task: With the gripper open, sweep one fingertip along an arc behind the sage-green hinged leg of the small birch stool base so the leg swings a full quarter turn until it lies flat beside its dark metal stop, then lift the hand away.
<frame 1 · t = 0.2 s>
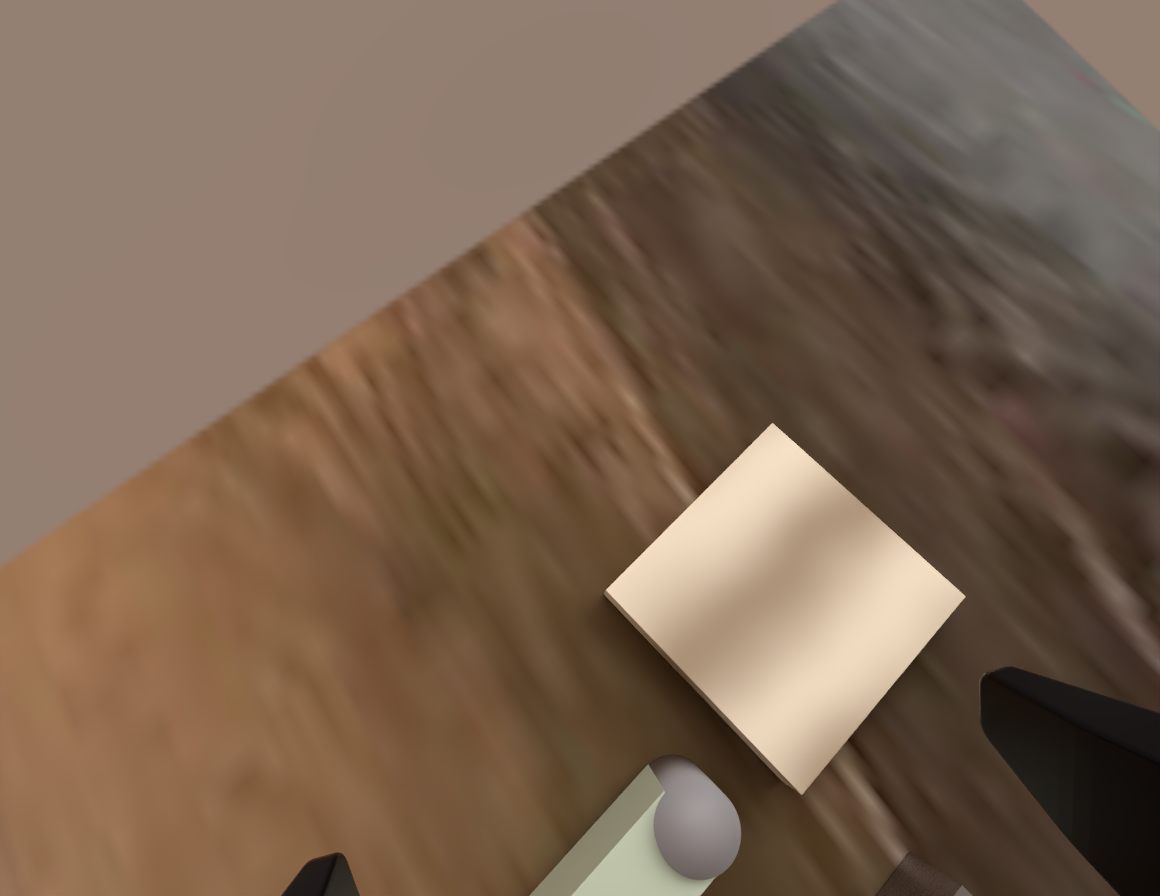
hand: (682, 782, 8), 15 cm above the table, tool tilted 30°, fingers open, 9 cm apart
stool seat: (768, 596, 24), on the table
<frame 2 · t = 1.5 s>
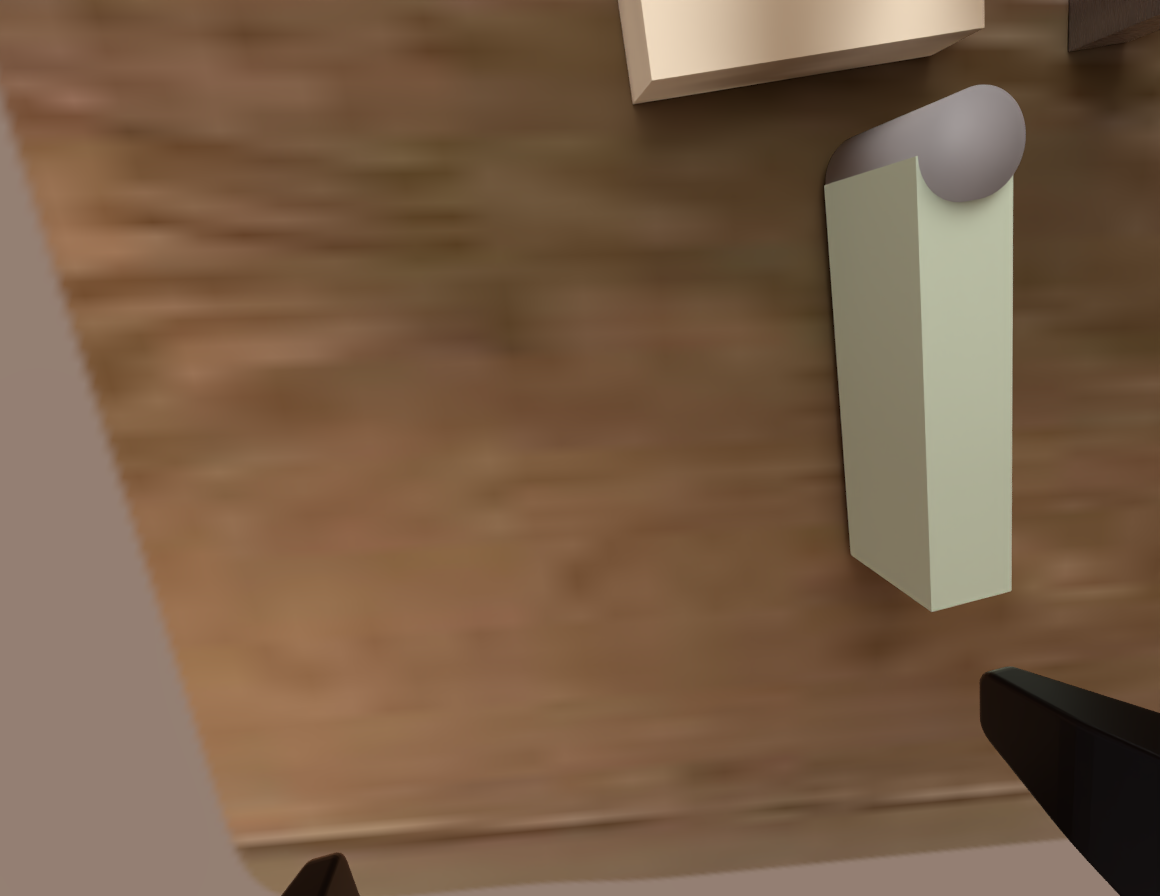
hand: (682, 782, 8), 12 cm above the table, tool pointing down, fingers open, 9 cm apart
stool leg: (920, 366, 18), point 3 cm above the table, hinge at 0.0°
leg stop: (1099, 9, 18), on the table
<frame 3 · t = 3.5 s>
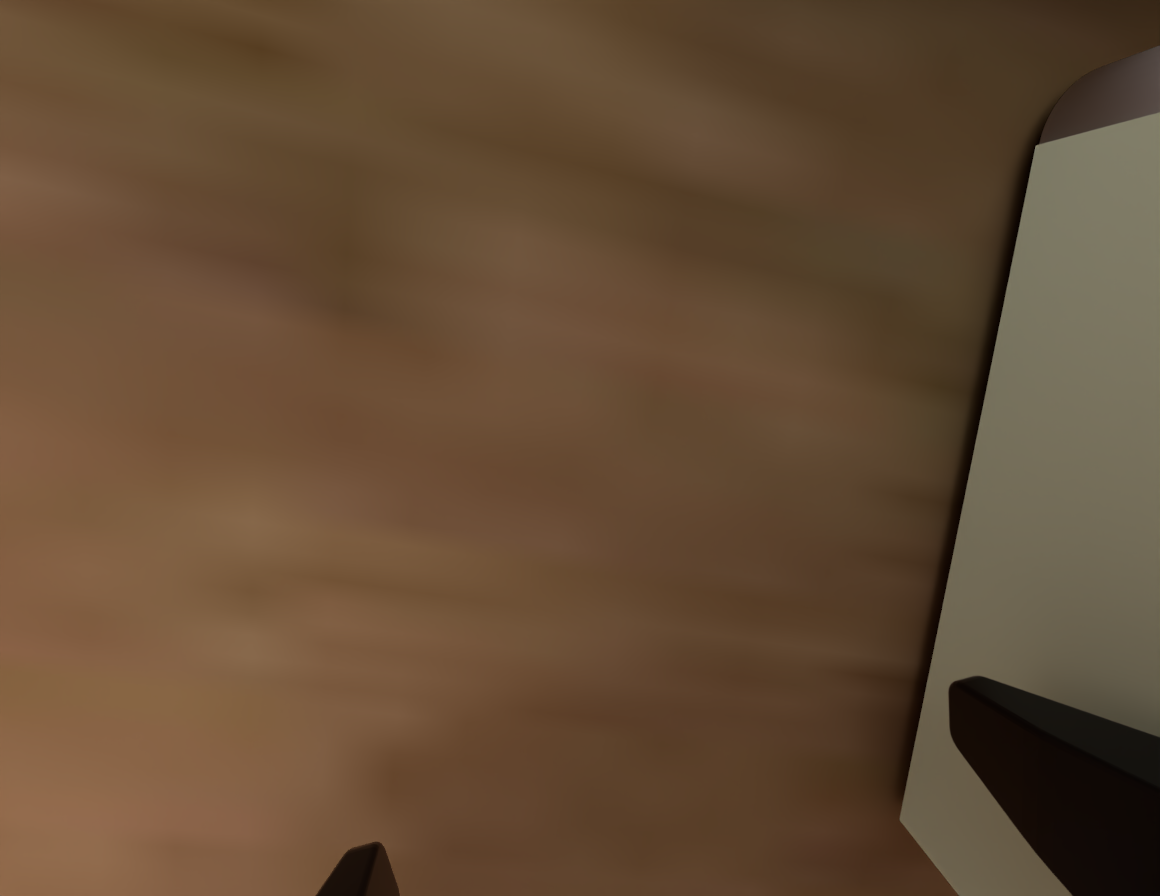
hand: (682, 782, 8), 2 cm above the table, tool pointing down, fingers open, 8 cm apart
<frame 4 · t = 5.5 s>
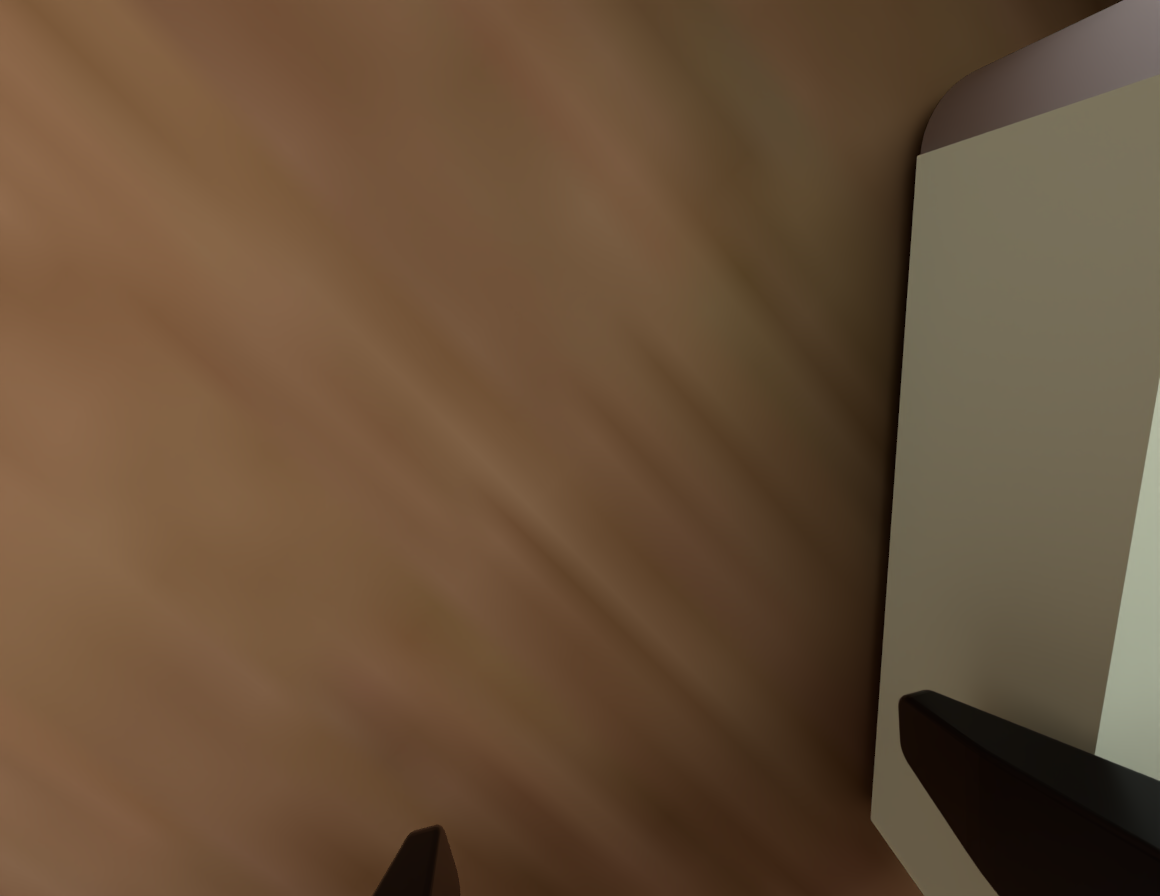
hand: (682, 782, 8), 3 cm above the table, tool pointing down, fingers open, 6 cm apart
stool leg: (1075, 542, 9), point 2 cm above the table, hinge at 41.6°, touching gripper
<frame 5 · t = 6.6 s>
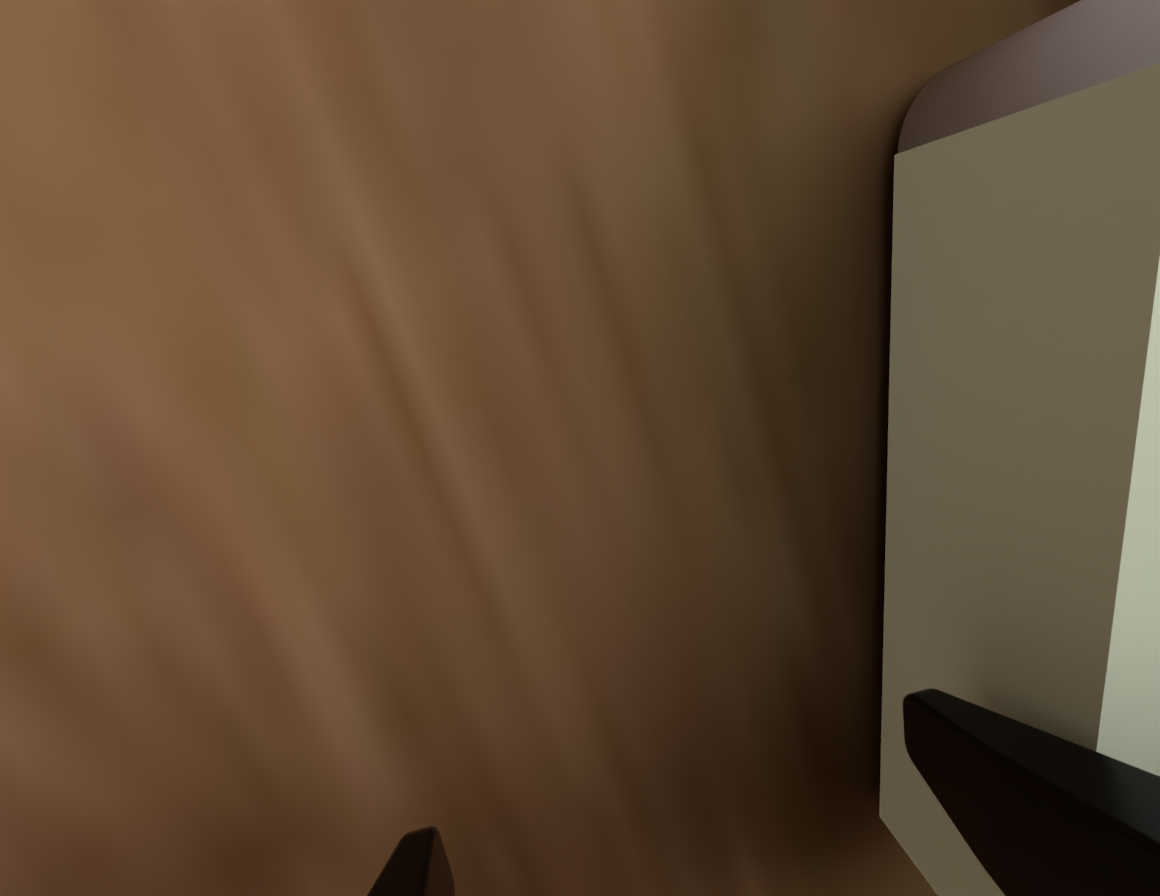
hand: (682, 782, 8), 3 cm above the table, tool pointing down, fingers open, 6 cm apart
stool leg: (1069, 538, 9), point 2 cm above the table, hinge at 67.9°, touching gripper
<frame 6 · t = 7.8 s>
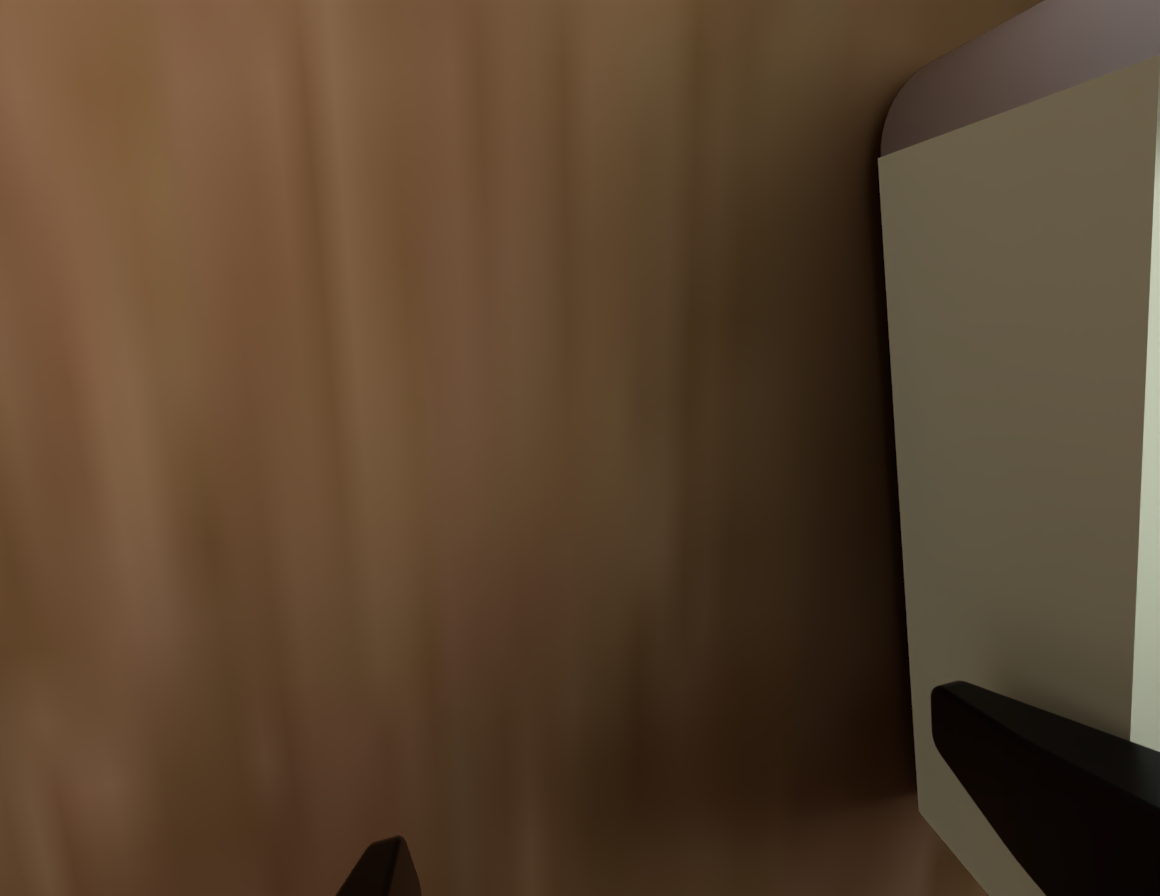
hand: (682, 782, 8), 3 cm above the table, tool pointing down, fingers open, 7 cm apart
stool leg: (1085, 528, 8), point 2 cm above the table, hinge at 90.9°, touching gripper
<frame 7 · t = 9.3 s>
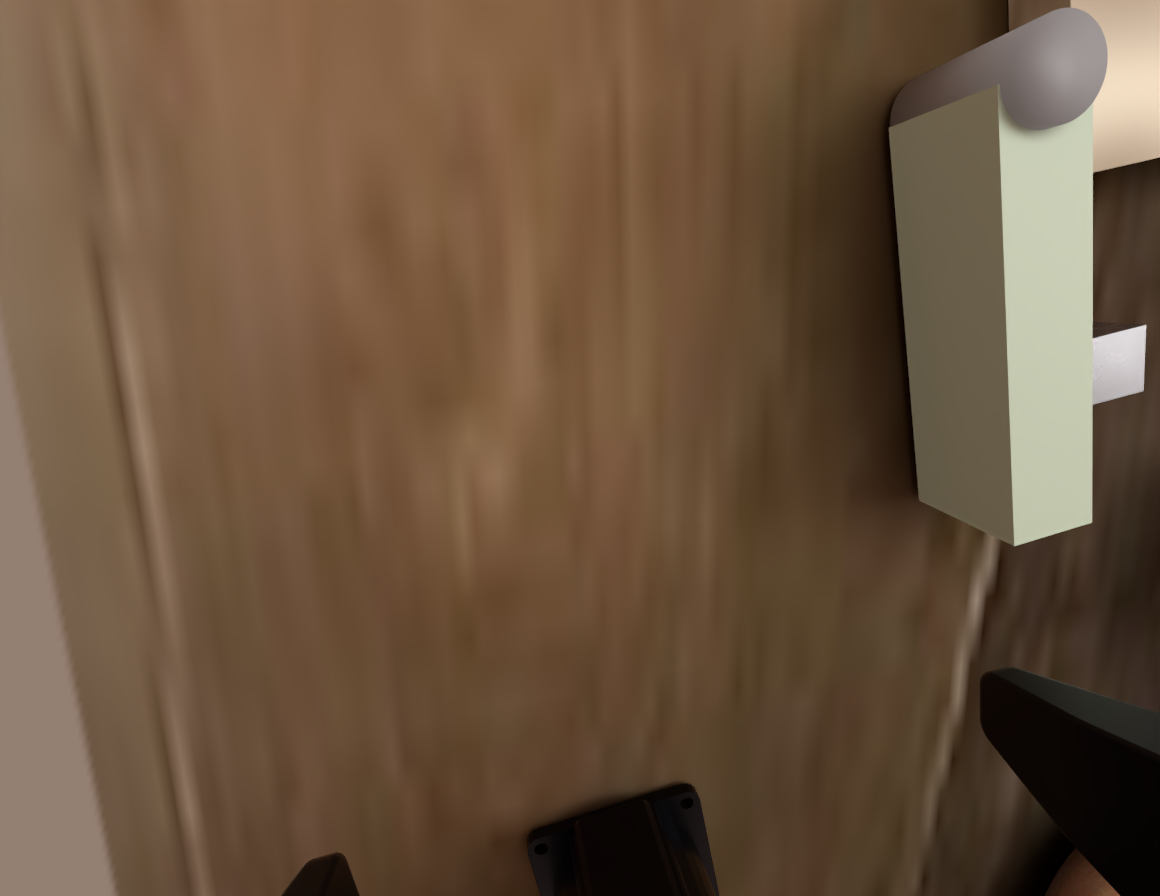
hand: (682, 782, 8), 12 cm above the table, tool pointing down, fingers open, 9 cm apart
stool leg: (994, 303, 18), point 2 cm above the table, hinge at 90.8°
leg stop: (1028, 355, 21), on the table
stool seat: (1142, 1, 19), on the table
ceramic jug: (1117, 879, 29), on the table
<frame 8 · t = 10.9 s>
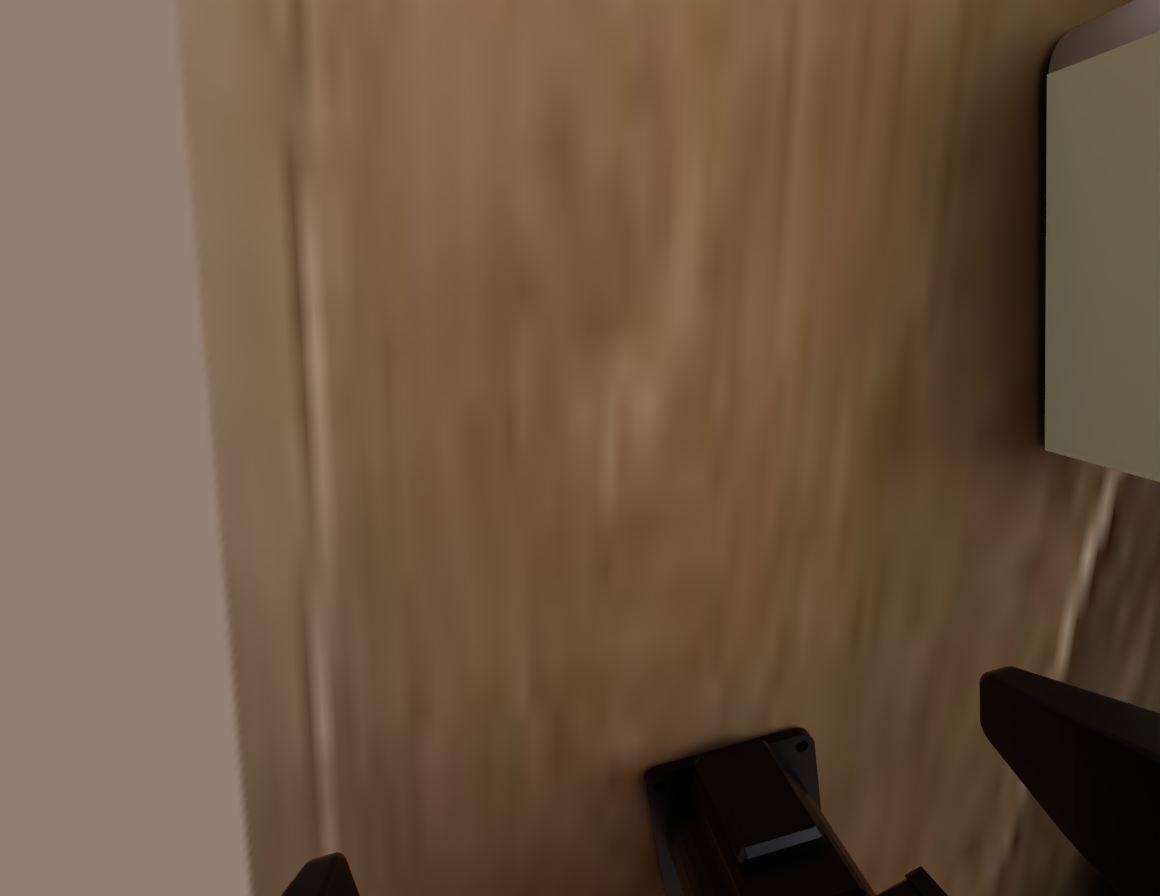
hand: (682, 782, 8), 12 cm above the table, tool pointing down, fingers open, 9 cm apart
stool leg: (1149, 245, 18), point 2 cm above the table, hinge at 90.8°
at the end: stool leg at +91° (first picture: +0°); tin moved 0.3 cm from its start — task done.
